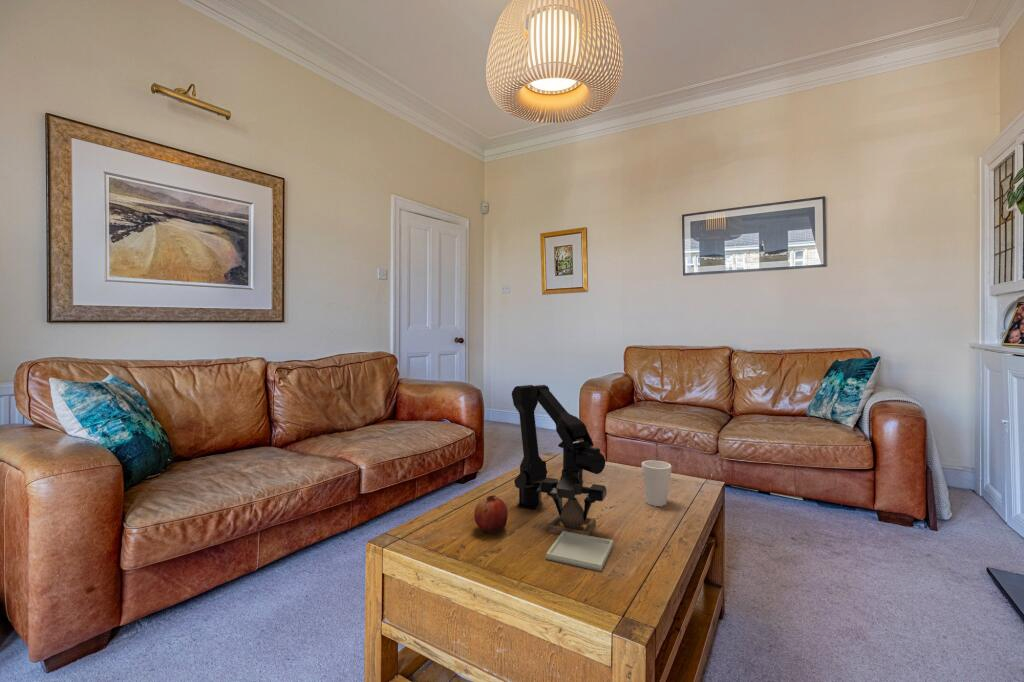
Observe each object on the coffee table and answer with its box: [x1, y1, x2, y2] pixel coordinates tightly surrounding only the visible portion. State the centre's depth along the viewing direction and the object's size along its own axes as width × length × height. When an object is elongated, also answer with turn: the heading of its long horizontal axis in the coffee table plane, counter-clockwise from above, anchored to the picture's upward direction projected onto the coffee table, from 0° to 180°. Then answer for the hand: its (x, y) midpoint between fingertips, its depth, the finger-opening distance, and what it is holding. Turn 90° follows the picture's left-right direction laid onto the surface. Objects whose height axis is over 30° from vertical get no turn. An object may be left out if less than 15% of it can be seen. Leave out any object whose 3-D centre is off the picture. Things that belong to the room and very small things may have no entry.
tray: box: [545, 531, 614, 572], centre depth 117 cm, size 14×14×2 cm
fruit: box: [473, 495, 509, 533], centre depth 130 cm, size 11×10×10 cm
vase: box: [561, 496, 585, 530], centre depth 132 cm, size 7×7×9 cm
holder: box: [548, 513, 597, 536], centre depth 132 cm, size 11×11×2 cm
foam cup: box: [641, 459, 672, 507], centre depth 151 cm, size 10×9×13 cm
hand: (572, 517), depth 132 cm, fingers closed on vase, 7 cm apart
